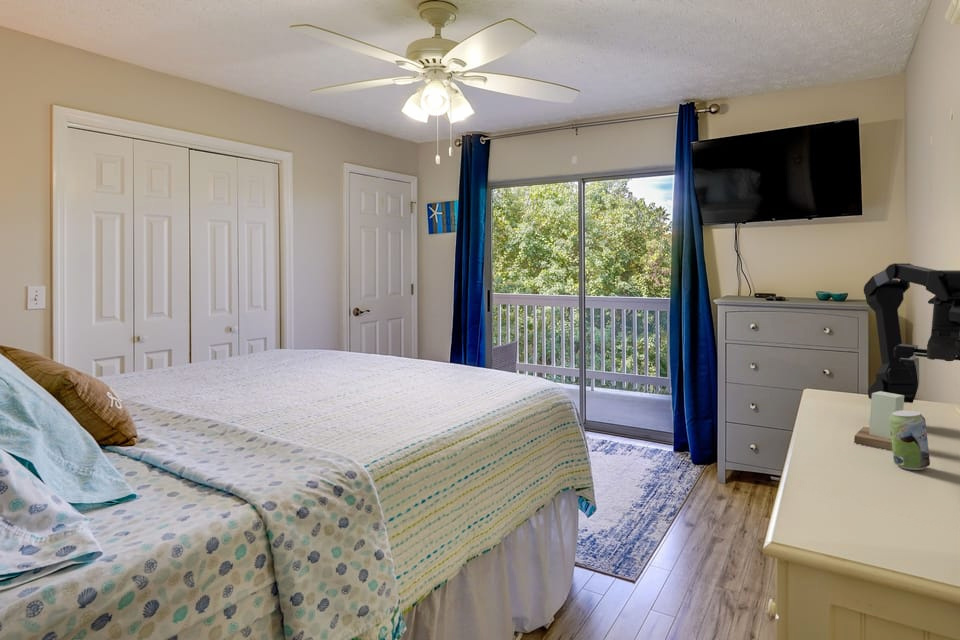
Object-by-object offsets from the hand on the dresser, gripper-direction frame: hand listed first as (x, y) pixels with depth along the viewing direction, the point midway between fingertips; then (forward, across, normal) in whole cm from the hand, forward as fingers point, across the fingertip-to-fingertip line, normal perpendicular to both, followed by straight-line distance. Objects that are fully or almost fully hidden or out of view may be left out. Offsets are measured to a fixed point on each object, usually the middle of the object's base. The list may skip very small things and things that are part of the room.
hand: (941, 391), depth 128 cm
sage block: (+11, -9, -7) cm, 16 cm away
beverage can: (+13, -2, -22) cm, 26 cm away
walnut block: (+14, -9, -7) cm, 18 cm away
